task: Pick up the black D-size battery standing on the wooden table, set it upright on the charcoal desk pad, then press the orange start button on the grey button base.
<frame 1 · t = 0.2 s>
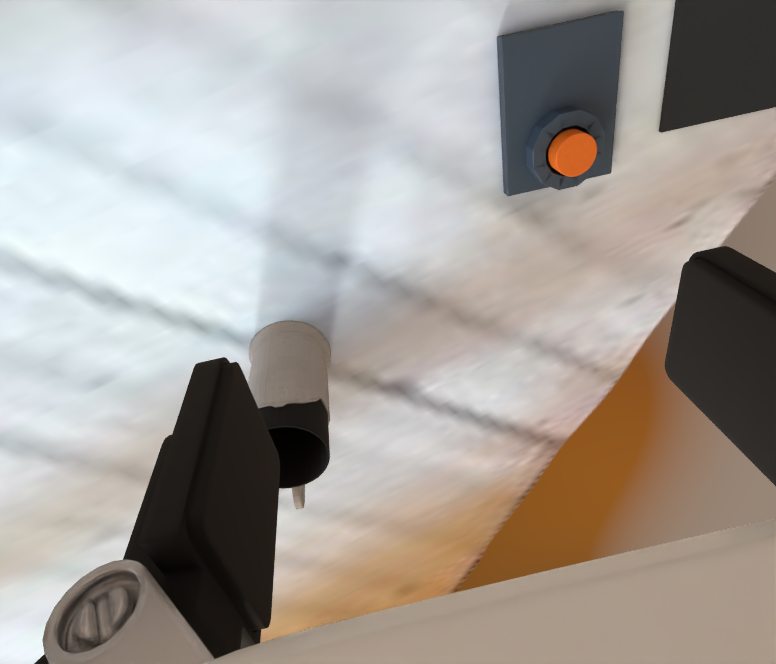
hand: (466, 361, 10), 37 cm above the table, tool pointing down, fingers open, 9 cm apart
glass holder: (293, 373, 55), on the table
grey button base: (555, 109, 43), on the table
start button: (572, 152, 42), point 4 cm above the table, slide at 0.2 cm
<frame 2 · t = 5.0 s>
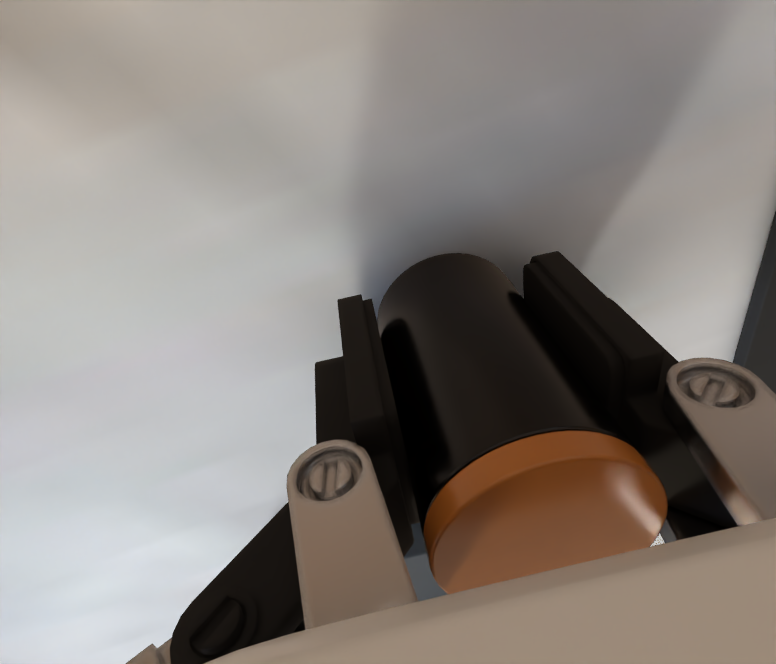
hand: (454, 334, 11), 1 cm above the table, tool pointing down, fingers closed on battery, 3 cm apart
grey button base: (434, 618, 20), on the table
battery: (446, 317, 12), on the table, touching gripper
when the fingers open (1 cm above the table, at t = 11.2 s): battery stays where it is, resting on desk pad.
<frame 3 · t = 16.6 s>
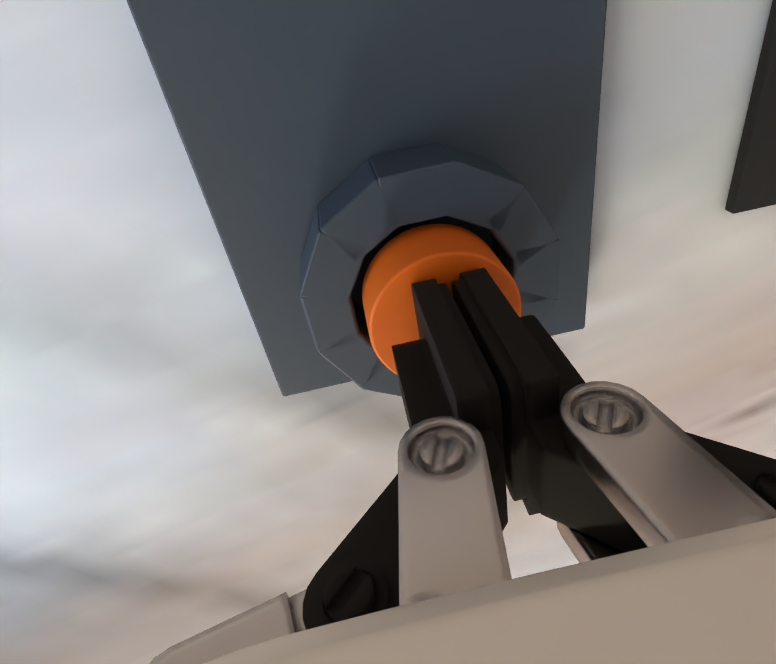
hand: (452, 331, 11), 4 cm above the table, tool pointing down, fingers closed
grey button base: (397, 148, 13), on the table
start button: (438, 305, 12), point 3 cm above the table, slide at 0.0 cm, touching gripper
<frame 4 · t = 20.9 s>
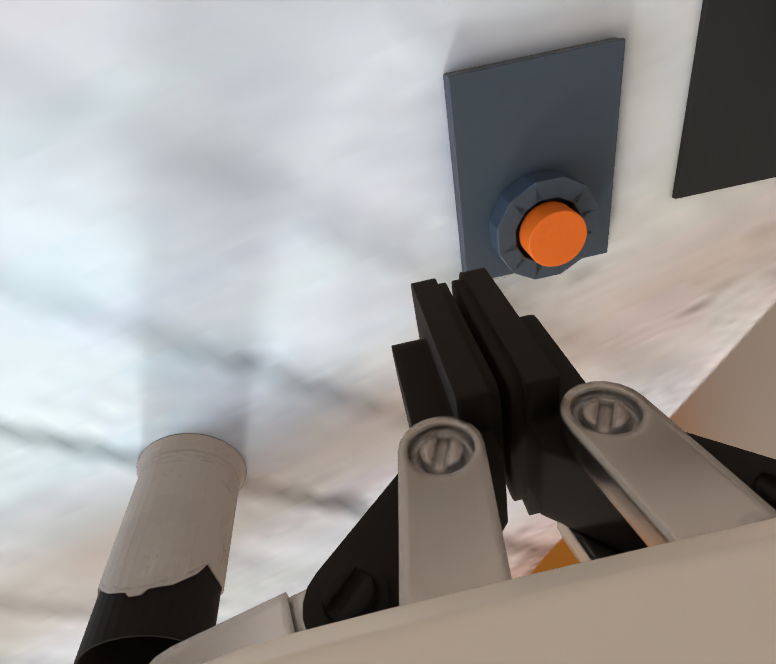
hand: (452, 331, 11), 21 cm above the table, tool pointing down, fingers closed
glass holder: (201, 490, 43), on the table
grey button base: (530, 170, 31), on the table
start button: (552, 234, 30), point 4 cm above the table, slide at 0.2 cm
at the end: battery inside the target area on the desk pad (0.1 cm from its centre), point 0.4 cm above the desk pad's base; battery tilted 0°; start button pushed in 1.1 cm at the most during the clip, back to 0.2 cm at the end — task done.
